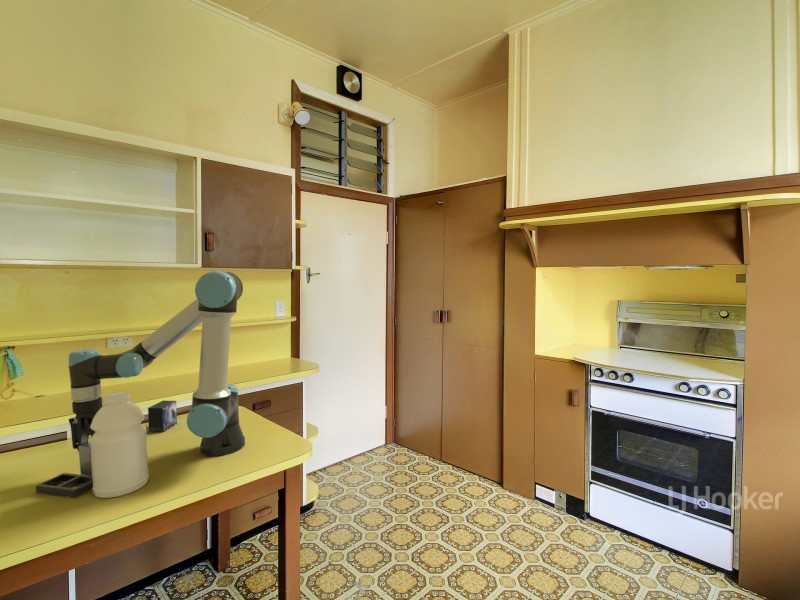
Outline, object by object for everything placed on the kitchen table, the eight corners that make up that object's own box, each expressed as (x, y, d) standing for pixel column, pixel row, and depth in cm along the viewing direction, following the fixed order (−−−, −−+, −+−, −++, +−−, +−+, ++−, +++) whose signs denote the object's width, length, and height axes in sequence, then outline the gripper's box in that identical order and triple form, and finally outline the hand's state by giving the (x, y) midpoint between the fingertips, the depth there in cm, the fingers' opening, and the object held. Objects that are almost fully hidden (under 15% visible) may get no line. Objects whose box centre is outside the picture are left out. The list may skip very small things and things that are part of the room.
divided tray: (101, 484, 123) (101, 477, 123) (74, 498, 115) (74, 490, 115) (64, 479, 126) (64, 472, 126) (36, 492, 118) (35, 485, 118)
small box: (163, 432, 164) (162, 407, 164) (147, 433, 165) (146, 407, 164) (178, 423, 175) (177, 399, 175) (163, 423, 175) (162, 400, 175)
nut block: (105, 468, 130) (103, 441, 130) (92, 475, 126) (89, 447, 126) (94, 467, 131) (92, 440, 131) (80, 474, 127) (78, 446, 127)
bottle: (86, 503, 112) (79, 404, 111) (100, 481, 125) (94, 392, 123) (145, 492, 118) (139, 397, 116) (152, 471, 130) (148, 386, 129)
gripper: (120, 395, 129) (125, 466, 130) (77, 394, 133) (83, 463, 134) (97, 403, 122) (104, 478, 123) (53, 401, 126) (59, 474, 127)
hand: (93, 470), depth 129 cm, fingers closed on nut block, 4 cm apart
